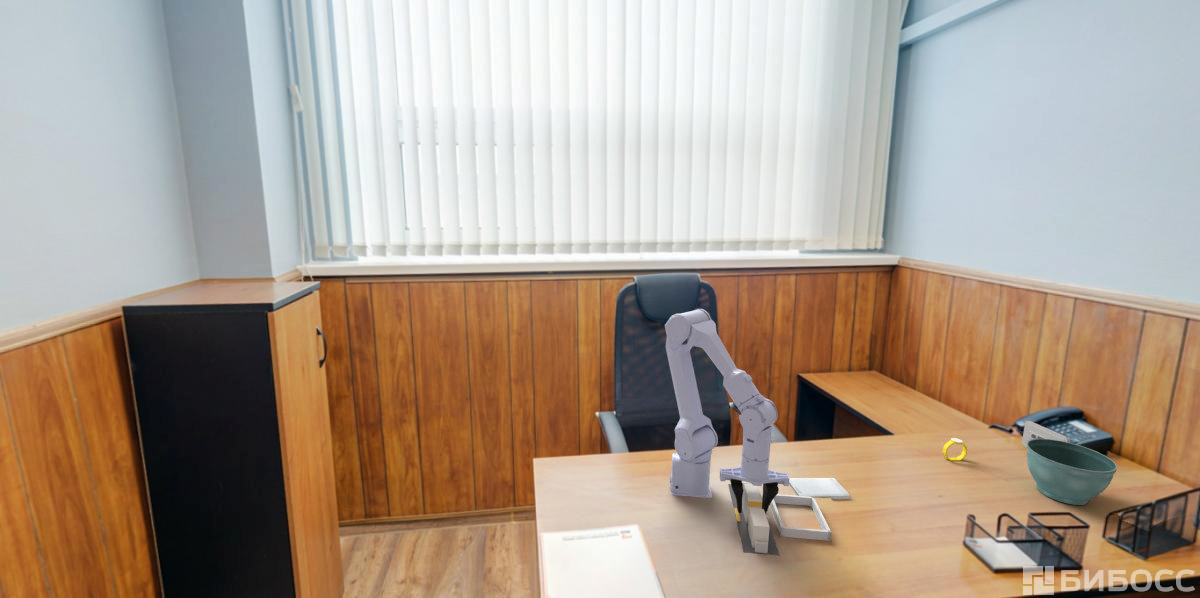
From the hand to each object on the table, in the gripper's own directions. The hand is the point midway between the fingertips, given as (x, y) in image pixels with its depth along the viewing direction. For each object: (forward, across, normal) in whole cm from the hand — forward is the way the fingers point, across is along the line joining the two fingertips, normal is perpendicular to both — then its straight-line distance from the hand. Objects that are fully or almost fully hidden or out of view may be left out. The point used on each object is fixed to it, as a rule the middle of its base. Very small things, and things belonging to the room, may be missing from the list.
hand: (751, 511), depth 115 cm
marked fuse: (+1, 0, 0) cm, 1 cm away
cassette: (+2, +87, +42) cm, 97 cm away
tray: (+2, +10, 0) cm, 10 cm away
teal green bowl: (+2, +77, +20) cm, 80 cm away
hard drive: (+2, +18, +14) cm, 23 cm away
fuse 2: (+1, 0, -8) cm, 8 cm away
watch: (+2, +60, +35) cm, 69 cm away
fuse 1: (+1, 0, +8) cm, 8 cm away
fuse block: (+2, 0, 0) cm, 2 cm away
